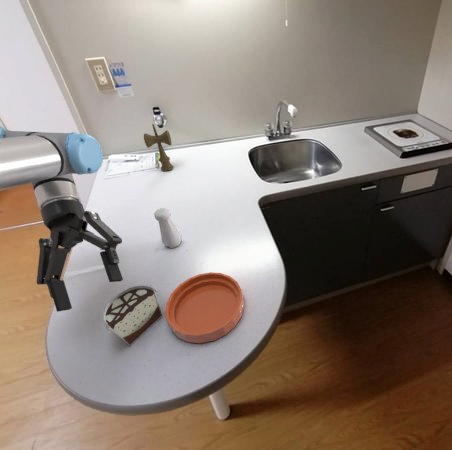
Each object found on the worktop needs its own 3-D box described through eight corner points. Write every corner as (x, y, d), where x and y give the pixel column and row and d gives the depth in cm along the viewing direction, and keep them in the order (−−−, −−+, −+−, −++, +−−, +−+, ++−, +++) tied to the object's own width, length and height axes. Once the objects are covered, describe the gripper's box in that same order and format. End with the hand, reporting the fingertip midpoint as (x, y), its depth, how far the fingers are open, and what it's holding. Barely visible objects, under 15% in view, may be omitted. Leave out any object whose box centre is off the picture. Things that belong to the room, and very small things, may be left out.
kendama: (179, 170, 131) (165, 125, 118) (155, 174, 129) (138, 128, 116) (179, 164, 136) (166, 119, 123) (156, 167, 133) (140, 122, 121)
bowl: (216, 356, 68) (212, 347, 65) (153, 327, 74) (148, 318, 71) (257, 294, 81) (255, 285, 78) (201, 274, 86) (197, 264, 84)
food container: (151, 301, 80) (137, 275, 73) (167, 311, 77) (155, 286, 71) (107, 339, 72) (88, 314, 65) (124, 351, 69) (105, 327, 63)
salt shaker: (178, 234, 99) (167, 202, 91) (186, 244, 96) (175, 211, 88) (161, 243, 96) (147, 210, 88) (168, 252, 93) (154, 219, 85)
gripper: (120, 183, 69) (151, 268, 65) (36, 234, 72) (61, 318, 68) (91, 173, 62) (124, 268, 57) (-1, 231, 65) (24, 324, 61)
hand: (90, 295), depth 63 cm, fingers open, 13 cm apart
